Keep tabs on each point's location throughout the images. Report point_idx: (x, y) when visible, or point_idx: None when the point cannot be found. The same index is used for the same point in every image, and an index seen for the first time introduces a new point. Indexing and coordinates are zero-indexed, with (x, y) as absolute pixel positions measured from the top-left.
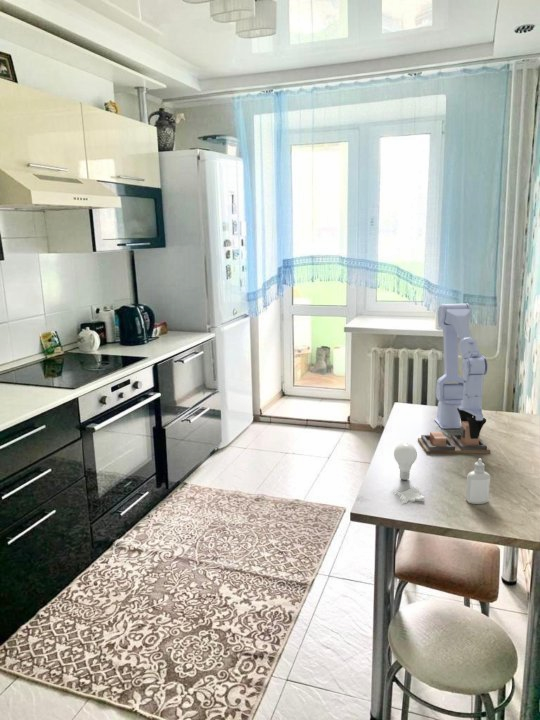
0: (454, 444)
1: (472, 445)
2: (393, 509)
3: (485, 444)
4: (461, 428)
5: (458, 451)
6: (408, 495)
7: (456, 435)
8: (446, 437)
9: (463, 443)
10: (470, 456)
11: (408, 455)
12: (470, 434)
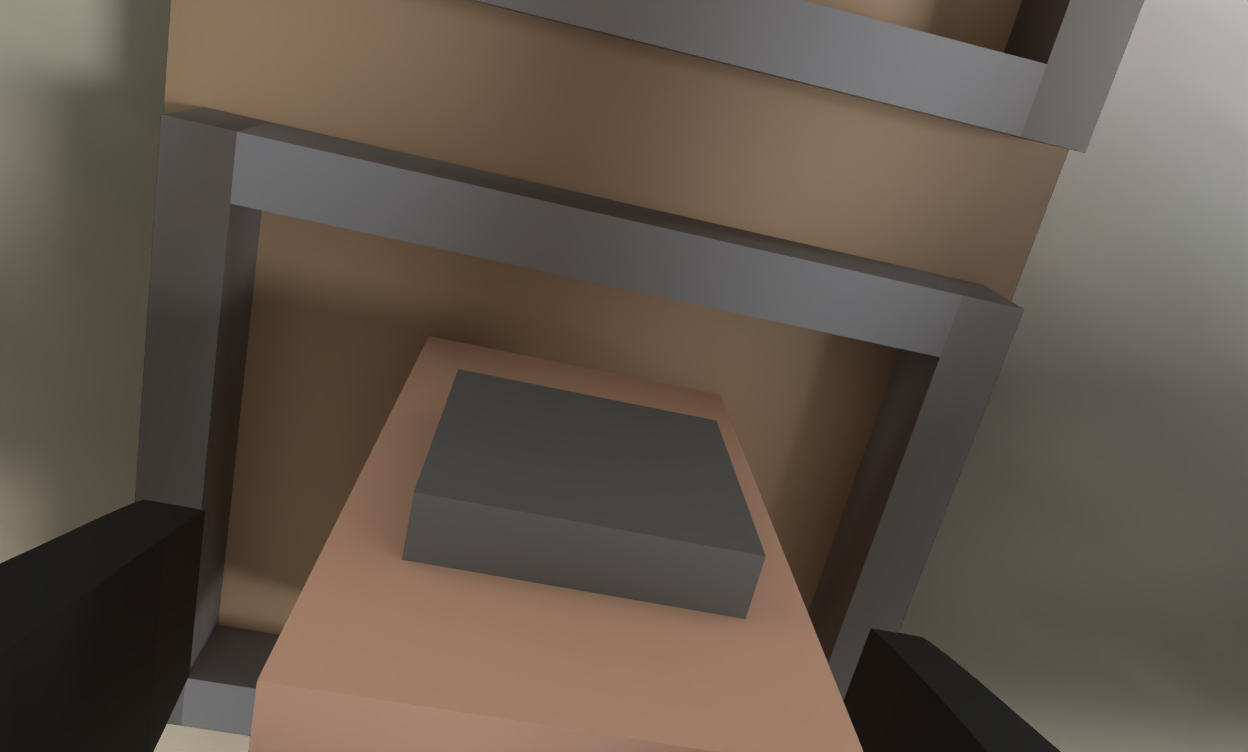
0: (584, 140)
1: (198, 439)
2: None
3: (210, 729)
4: (648, 518)
5: (176, 12)
6: None
7: (919, 407)
8: (898, 63)
9: (538, 365)
10: (15, 212)
11: None
12: (71, 541)
